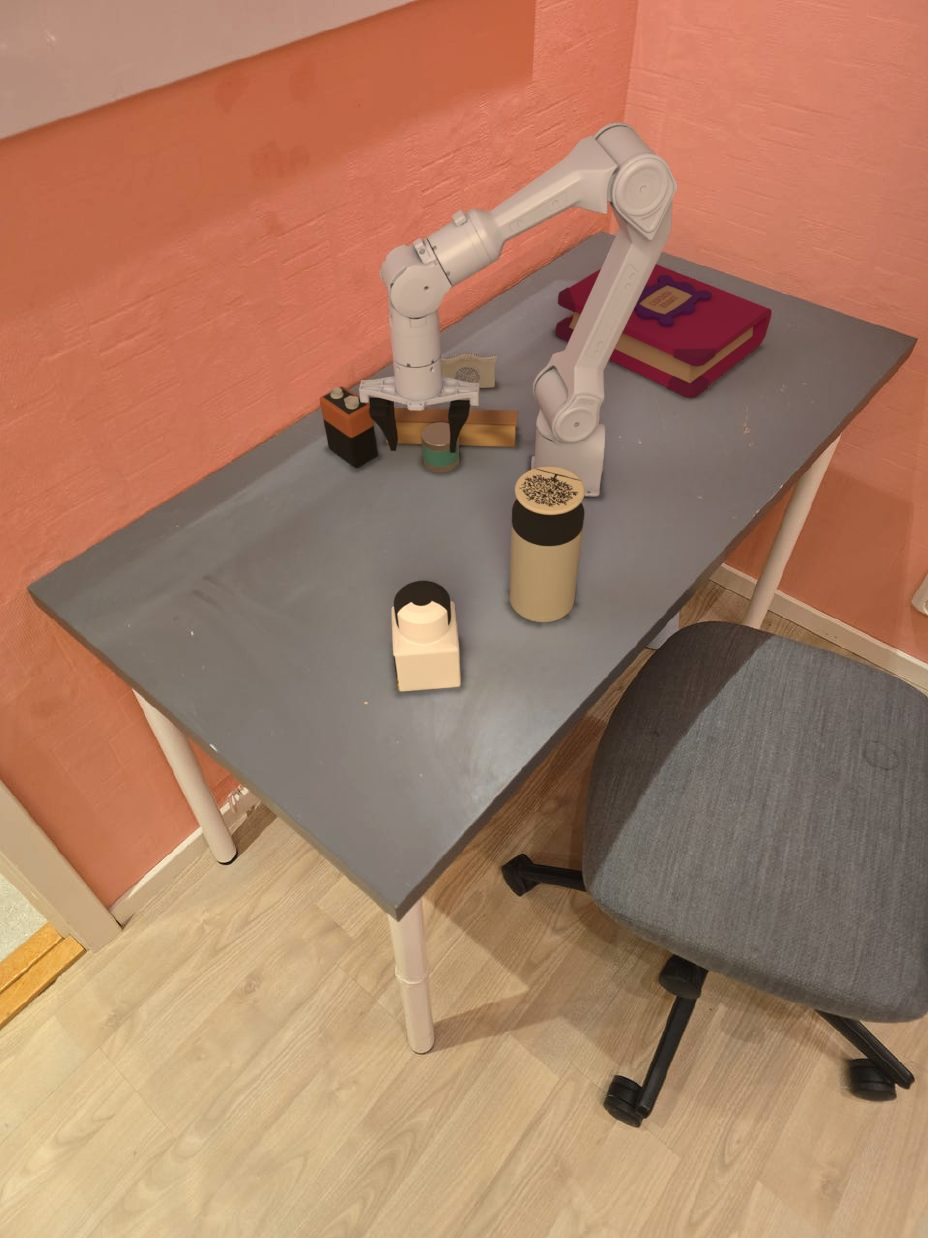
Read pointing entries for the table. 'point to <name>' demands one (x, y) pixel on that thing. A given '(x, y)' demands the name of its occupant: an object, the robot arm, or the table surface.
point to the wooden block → (475, 431)
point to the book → (678, 330)
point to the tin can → (438, 448)
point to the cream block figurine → (425, 638)
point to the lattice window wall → (481, 364)
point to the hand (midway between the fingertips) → (423, 446)
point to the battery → (348, 426)
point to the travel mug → (546, 543)
